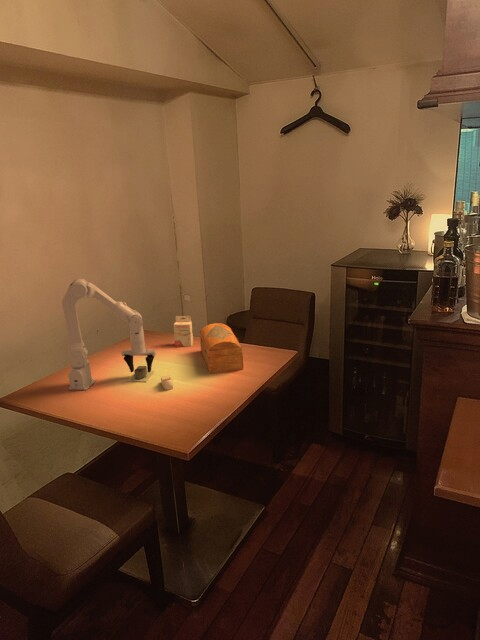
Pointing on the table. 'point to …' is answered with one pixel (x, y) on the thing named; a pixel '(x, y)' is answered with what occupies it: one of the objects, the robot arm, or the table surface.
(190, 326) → the ink cartridge box
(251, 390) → the table surface
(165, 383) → the ivory plug
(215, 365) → the wooden box
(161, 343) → the table surface
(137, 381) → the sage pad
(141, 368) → the tan-capped grey bottle
